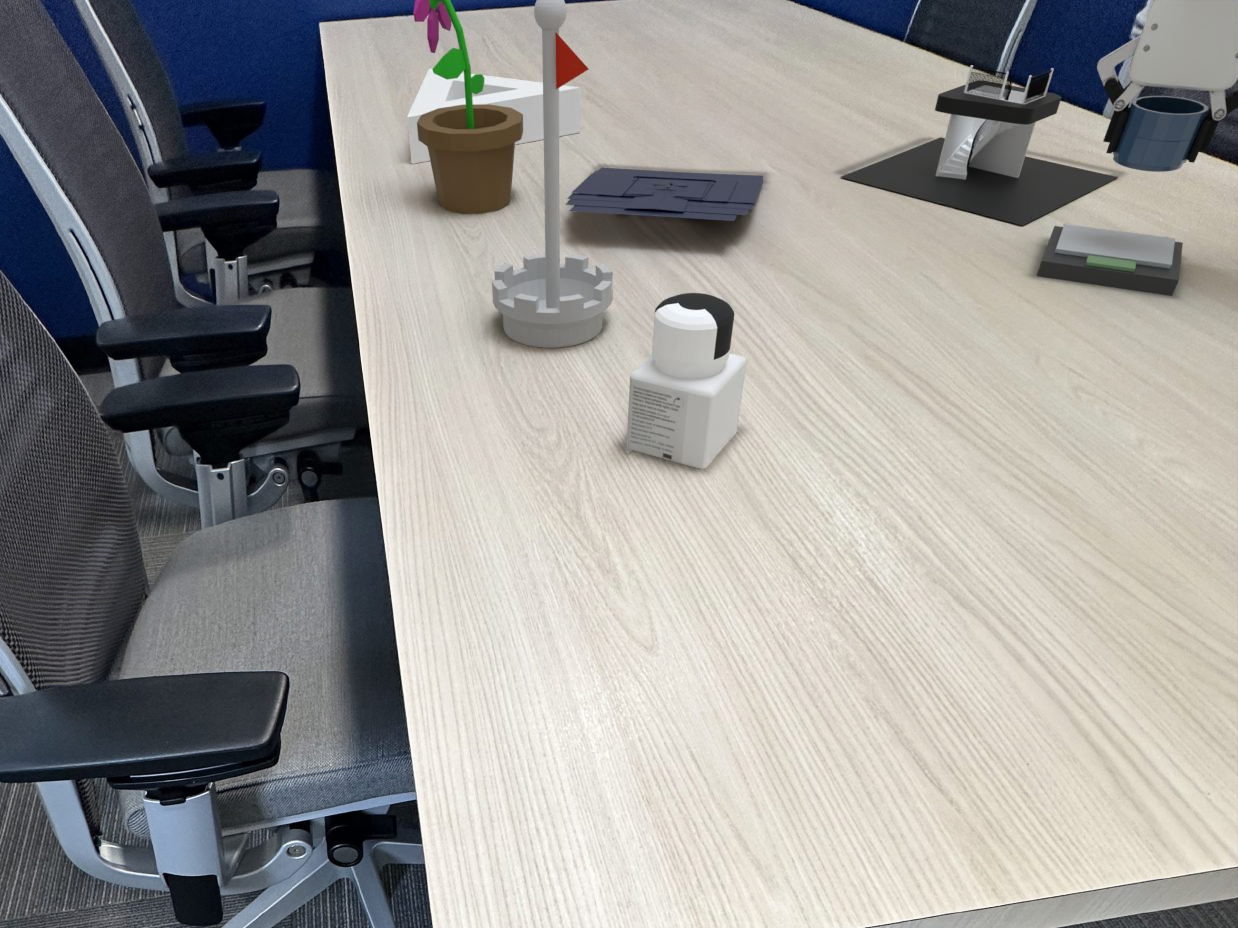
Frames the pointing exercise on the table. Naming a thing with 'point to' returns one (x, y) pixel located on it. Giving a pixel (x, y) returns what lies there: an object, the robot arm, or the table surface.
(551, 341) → the flag stand
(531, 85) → the triangle block
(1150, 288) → the scale
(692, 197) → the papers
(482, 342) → the table surface
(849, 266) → the table surface
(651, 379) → the container
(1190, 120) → the blue cup
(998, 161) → the black-topped pedestal
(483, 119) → the flowerpot
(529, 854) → the table surface
